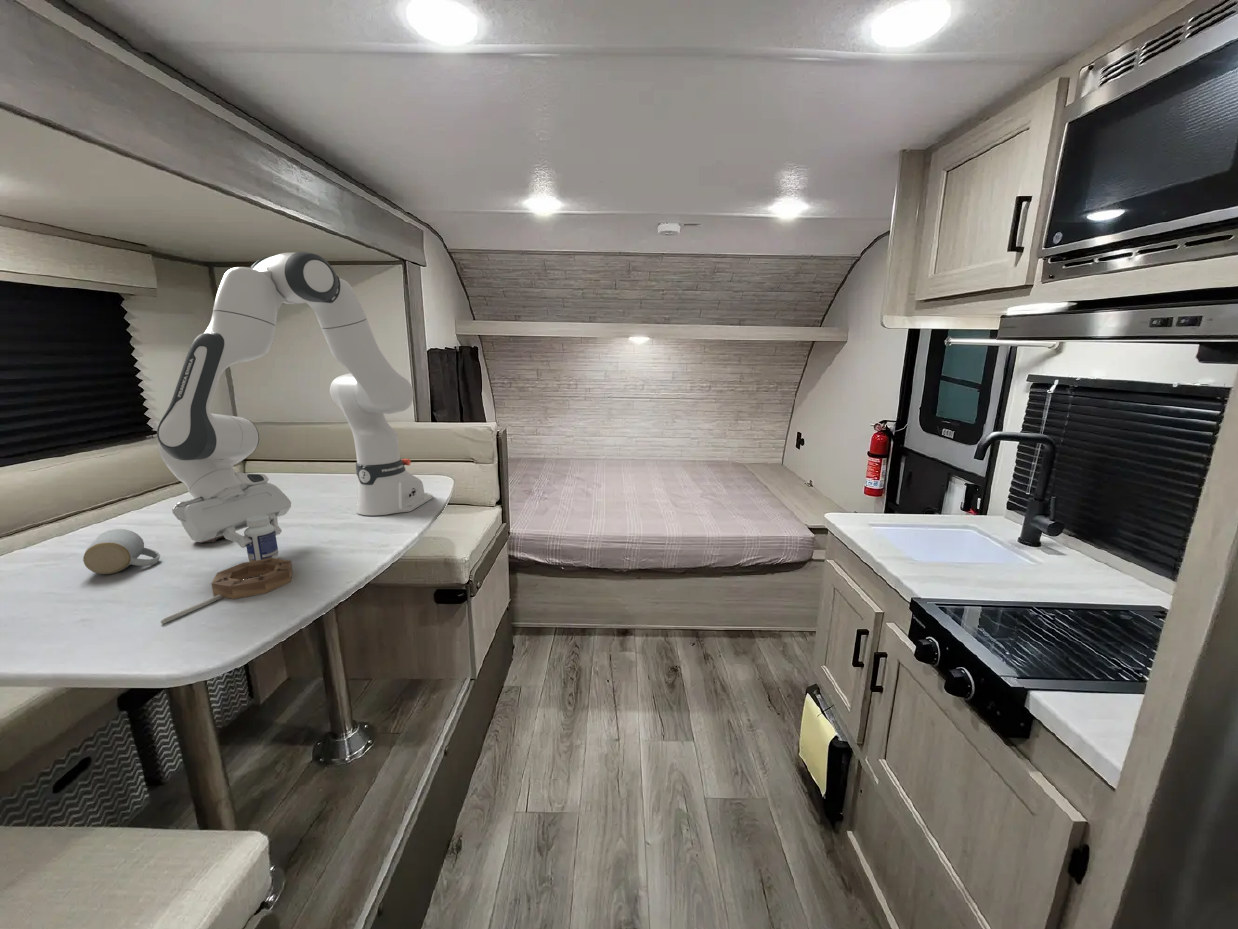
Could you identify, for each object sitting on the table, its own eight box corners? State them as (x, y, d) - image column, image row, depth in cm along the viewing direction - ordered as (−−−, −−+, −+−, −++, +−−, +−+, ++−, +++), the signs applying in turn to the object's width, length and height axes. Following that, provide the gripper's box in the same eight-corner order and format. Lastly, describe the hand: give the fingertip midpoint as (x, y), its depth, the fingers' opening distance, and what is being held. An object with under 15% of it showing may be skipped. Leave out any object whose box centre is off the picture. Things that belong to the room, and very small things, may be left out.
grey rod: (219, 598, 90) (218, 594, 90) (222, 598, 90) (221, 594, 90) (159, 624, 82) (159, 620, 81) (163, 625, 81) (162, 620, 81)
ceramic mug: (84, 580, 98) (76, 543, 96) (99, 565, 105) (92, 531, 103) (155, 569, 103) (148, 534, 101) (165, 556, 110) (159, 523, 108)
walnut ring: (261, 567, 104) (259, 556, 103) (306, 574, 100) (304, 562, 100) (199, 593, 92) (197, 580, 92) (247, 601, 89) (245, 589, 88)
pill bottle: (282, 554, 111) (276, 512, 108) (274, 563, 106) (267, 520, 103) (254, 557, 109) (247, 515, 107) (244, 566, 104) (237, 522, 102)
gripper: (172, 495, 96) (218, 548, 95) (271, 472, 115) (310, 516, 114) (161, 515, 98) (205, 567, 97) (260, 489, 117) (298, 532, 117)
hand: (263, 539), depth 106 cm, fingers closed on pill bottle, 5 cm apart
